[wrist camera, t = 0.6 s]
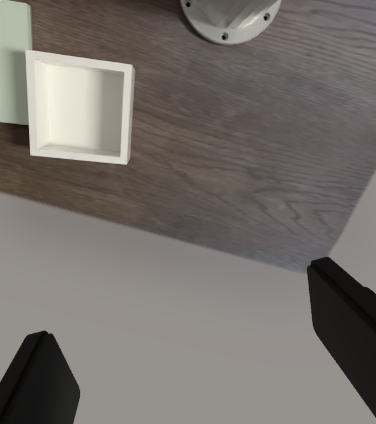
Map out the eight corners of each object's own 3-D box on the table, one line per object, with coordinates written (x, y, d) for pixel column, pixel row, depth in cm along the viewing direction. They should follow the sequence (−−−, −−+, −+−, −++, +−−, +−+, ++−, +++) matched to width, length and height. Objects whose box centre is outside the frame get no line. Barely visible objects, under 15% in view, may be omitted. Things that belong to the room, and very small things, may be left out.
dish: (42, 57, 36) (25, 49, 31) (134, 70, 37) (132, 64, 33) (45, 149, 39) (30, 155, 35) (129, 157, 41) (126, 164, 36)
